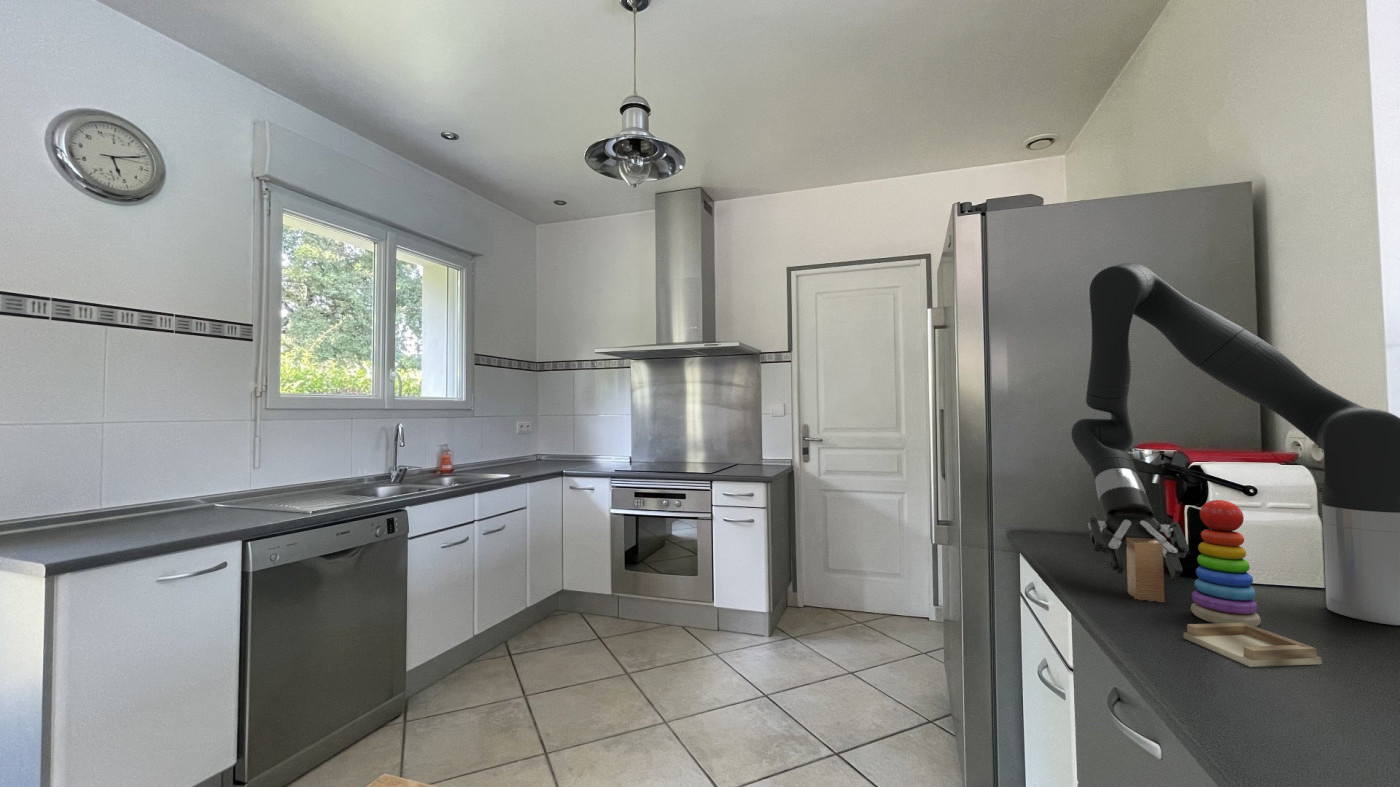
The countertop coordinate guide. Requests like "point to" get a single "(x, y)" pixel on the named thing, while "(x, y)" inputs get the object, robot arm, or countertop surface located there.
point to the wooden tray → (1251, 645)
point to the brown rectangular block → (1145, 569)
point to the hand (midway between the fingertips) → (1148, 573)
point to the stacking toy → (1223, 569)
